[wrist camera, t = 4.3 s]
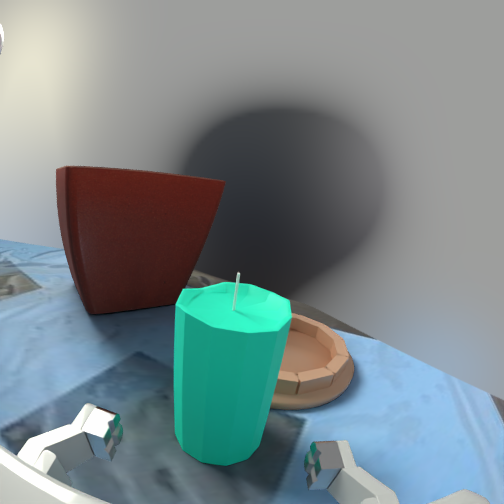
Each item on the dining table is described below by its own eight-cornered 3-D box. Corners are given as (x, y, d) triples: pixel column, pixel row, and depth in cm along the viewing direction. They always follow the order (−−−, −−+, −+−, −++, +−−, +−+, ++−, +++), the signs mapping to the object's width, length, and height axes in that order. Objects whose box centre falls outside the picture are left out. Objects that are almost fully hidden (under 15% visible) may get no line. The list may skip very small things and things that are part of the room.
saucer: (165, 348, 26) (166, 328, 26) (261, 311, 39) (263, 295, 38) (306, 438, 17) (315, 418, 17) (369, 355, 30) (375, 338, 29)
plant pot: (154, 267, 50) (162, 174, 47) (213, 309, 37) (230, 180, 34) (53, 275, 37) (56, 168, 34) (69, 334, 24) (66, 165, 20)
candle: (248, 404, 20) (275, 260, 18) (271, 460, 15) (319, 298, 12) (173, 405, 19) (177, 253, 16) (178, 467, 13) (178, 293, 11)
